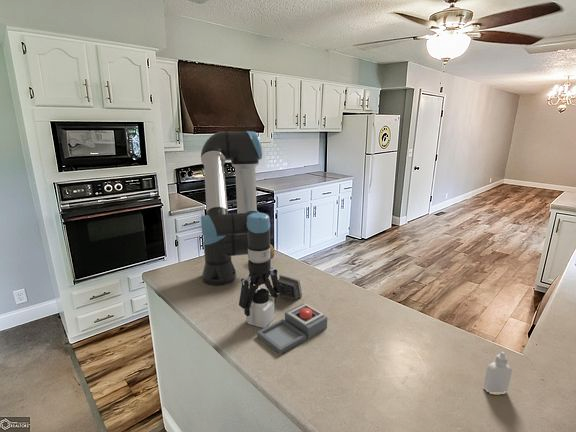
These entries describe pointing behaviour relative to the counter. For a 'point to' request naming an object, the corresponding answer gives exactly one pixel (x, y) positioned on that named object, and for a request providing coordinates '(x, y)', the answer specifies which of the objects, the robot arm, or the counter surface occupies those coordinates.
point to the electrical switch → (289, 287)
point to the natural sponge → (271, 251)
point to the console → (292, 329)
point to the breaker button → (305, 314)
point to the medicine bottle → (262, 308)
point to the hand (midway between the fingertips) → (260, 317)
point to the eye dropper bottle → (498, 374)
